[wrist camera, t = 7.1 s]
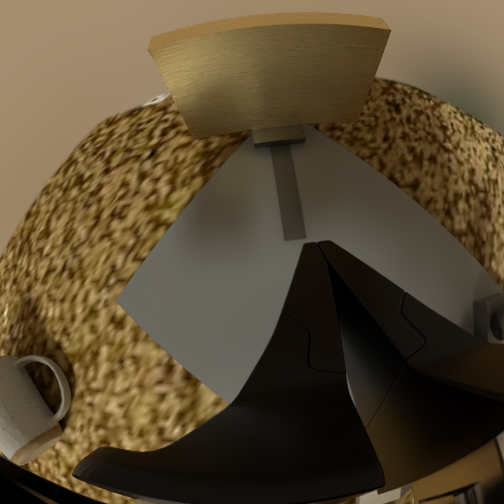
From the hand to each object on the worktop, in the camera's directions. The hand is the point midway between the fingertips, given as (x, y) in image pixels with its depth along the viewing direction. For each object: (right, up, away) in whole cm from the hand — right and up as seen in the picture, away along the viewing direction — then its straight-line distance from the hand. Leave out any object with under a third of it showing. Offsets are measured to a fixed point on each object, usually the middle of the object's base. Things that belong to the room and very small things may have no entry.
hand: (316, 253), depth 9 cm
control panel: (+4, -4, +8) cm, 10 cm away
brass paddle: (0, +8, +8) cm, 11 cm away
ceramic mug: (-21, -13, +9) cm, 27 cm away
